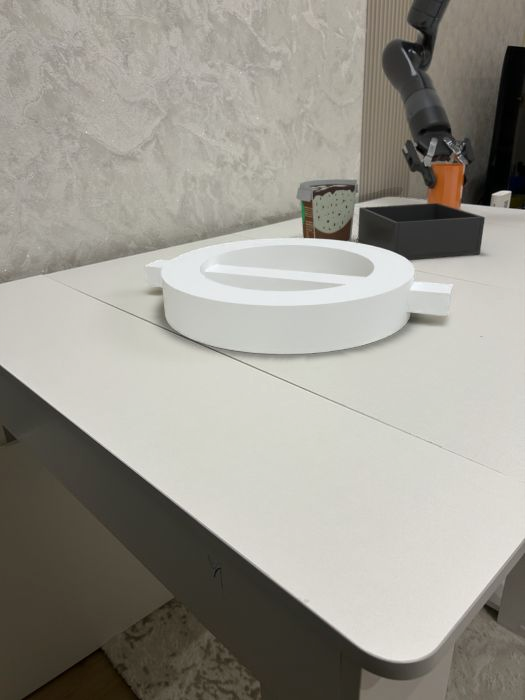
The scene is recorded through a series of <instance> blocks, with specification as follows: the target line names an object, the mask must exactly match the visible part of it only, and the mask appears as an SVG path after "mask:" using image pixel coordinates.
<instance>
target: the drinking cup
mask: <svg viewBox="0 0 525 700" xmlns="http://www.w3.org/2000/svg"><path fill="white" fill-rule="evenodd" d="M429 167H432V169H433V172H434V175H435V178H436V181H437V183H436V185H435V186H434V188H433V189H429V188H428V187H427V195H426V197H427V198H426V204H429V203H439V204H443V205H446V206H449V207H453V208H456V209H459V210H461V207H462V206H461V205H462V196H463V190H464V187H463V180H464V172H465V164H460V162H458V163H446V162H439V163H438V162H437V163H431V164H430V166H429Z"/></svg>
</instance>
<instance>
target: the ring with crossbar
mask: <svg viewBox="0 0 525 700" xmlns="http://www.w3.org/2000/svg"><path fill="white" fill-rule="evenodd" d="M143 269H144V277H145V278H144V279H145V286H146V287H153V288H154V287H156V288H162V297H163V307H164V317H165V320H166V322H167V324H168V325H169V326H170V327H171V328H172V329H173V330H174V331H175V332H177V333H178V334H180V335H182V336H184V337H186V338H188V339H190V340H193V341H195V342H197V343H201V344H203V345H207V346H211V347H215V348H219V349H225V350H229V351H236V352H243V353H251V354H252V353H253V354H265V355H266V354H267V355H303V354H304V355H307V354H319V353H328V352H335V351H341V350H348V349H353V348H357V347H361V346H365V345H368V344H372V343H375V342H377V341H381V340H382V339H385V338H387V337H389V336H392V335H394V334H395V333H397V332H398V331H399V330H401V329H402V328H403V327H405V326H406V325H407V323H408V321H409V320H410V318H411V313H413V314H422V315H423V314H424V315H430V316H431V315H432V316H440V317H441V316H442V317H448V316H449V313H450V308H451V302H452V296H453V295H452V294H453V287H454V286H453V283H440V282H429V281H428V282H427V281H416V280H415V273H416V271H415V270H416V269H415V266H414V264H413V263H412V262H411V260H407V259H406V258H405V257H403V256H401V255H399V254H397V253H394V252H392V251H389V250H386V249H383V248H379V247H375V246H371V245H366V244H362V243H361V242H353V241H351V242H348V241H340V240H329V239H313V238H303V237H278V238H277V237H275V238H274V237H273V238H258V239H257V238H256V239H245V240H237V241H236V240H235V241H229V242H224V243H218V244H213V245H208V246H203V247H200V248H197V249H196V248H195V249H193V250H190V251H187V252H184V253H182V254H179V255H178V256H175V257H173V258H172V259H171V260H170V259H169V260H168V259H156V260H154V261H152V262H149V263H148V264H145V265H144V266H143Z"/></svg>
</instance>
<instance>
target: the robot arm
mask: <svg viewBox="0 0 525 700" xmlns="http://www.w3.org/2000/svg"><path fill="white" fill-rule="evenodd" d="M451 1H452V0H412V1H411V3H410V5H409V9H408V11H407V14H406V18H405V19H406V20H405V21H406V23H407V25H408V26H409V27H410V28H412V29H414V30H415V31H416V38H415V41H411V40H409V39H405V38H399V37H398V38H393V39H391V40H389V41H388V42H387V43H386V45H385V46H384V48H383V50H382V52H381V58H380V64H381V69H382V71H383V74H384V76H385V77H386V79H387V81H388V82H389V84H390V85H391V86H392V87H393V89H394V90H395V92H397V94H398V95H399V98H400V101H401V104H402V107H403V111H404V117H405V120H406V124H407V126H408V129H409V132H410V135H411V138H412V140H411V139H407V140H406V141H405V143H404V145H403V147H402V149H401V152H402V155H403V157H404V159H405V162H406V164H407V166H408V168H409V170H410V172H411V173H415V172H418V173H419V174H420V175H421V177H422V179H423V183H424V185H425V186H426V187H427V189H428V188H429V189H433V188H434V186H435V185H436V183H437V181H436V178H435V175H434V172H433V169H432V167H430V165H431V164H432V163H436V162H444V163H459V164H465V172H464V180H463V188H466V187H467V186H468V185H469V184H470V182H471V180H472V175H471V172H470V168H471V167H472V165H473V164H474V163H475V161H476V156H475V153H474V149H473V146H472V142H471V139H470V138H469V137H464V139H463V140H461V139H459V140H458V139H457V138H456V137H454V135H453V133H452V125H451V122H450V120H449V117H448V114H447V111H446V108H445V107H444V104H443V101H442V99H441V97H440V96H439V94H438V91H437V88H436V86H435V82H434V81H433V78H432V76H431V75H430V74H429V72H428V71H429V69H430V67H431V64H432V62H433V57H434V52H435V47H436V43H437V38H438V33H439V29H440V25H441V23H442V21H443V19H444V16H445V14H446V12H447V9H448V8H449V5H450V4H451ZM418 153H419V154H420V155H421V156H422V159H420V156H419V154H418ZM451 156H452V157H451Z"/></svg>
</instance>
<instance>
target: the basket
mask: <svg viewBox="0 0 525 700" xmlns="http://www.w3.org/2000/svg"><path fill="white" fill-rule="evenodd" d="M358 212H359V213H358V229H357V231H358V232H357V242H358V243H361V244H366V245H371V246H375V247H379V248H383V249H386V250H389V251H392V252H394V253H397V254H399V255H401V256H403V257H405V258H406V259H407V260H409V261H412V260H425V259H436V258H438V259H439V258H449V257H462V256H464V257H465V256H475V255H476V256H477V255H480V254H481V248H482V242H483V233H484V226H485V219H486V217H485V216H482V215H479V214H475V213H472V212H470V211H466V210H463V209H460V210H459V209H456V208H453V207H449V206H446V205H443V204H439V203H429V204H427V203H415V204H413V203H412V204H397V205H382V206H381V205H380V206H365V207H359V210H358Z"/></svg>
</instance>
